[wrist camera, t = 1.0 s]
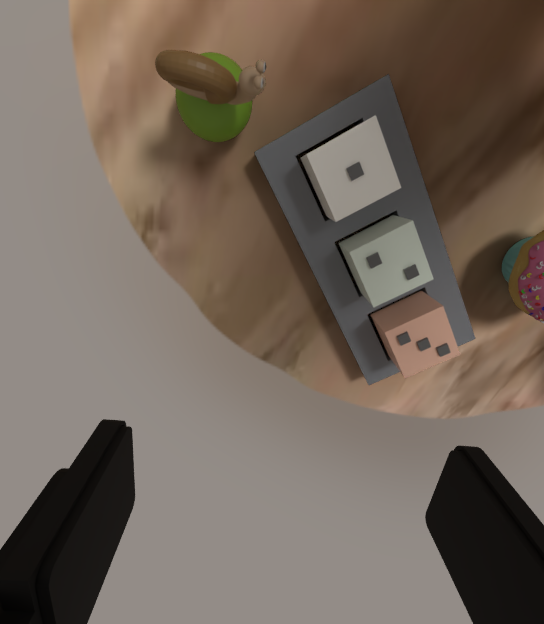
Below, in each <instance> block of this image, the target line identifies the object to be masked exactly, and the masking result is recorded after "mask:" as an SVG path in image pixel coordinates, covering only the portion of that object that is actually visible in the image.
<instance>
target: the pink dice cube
mask: <svg viewBox="0 0 544 624" xmlns="http://www.w3.org/2000/svg"><path fill="white" fill-rule="evenodd" d="M370 315H371V317H372V319H373V322H374V324H375V326H376V328H377V331H378V333H379V335H380V337H381V340H382V342H383V344H384V346H385V349H386V351H387V353H388V355H389V357H390V358H391V360H392V361H393V363H394V364H395V365H396V367H397V368H398V370H399V371H400V372H401V374H402V375H403V377H404V378H407V377H409V376H412V375H414V374H416V373H419V372H421V371H423V370H425V369H428V368H430V367H432V366H435V365H437V364H439V363H442V362H444V361H446V360H449V359H451V358H453V357H456V356H458V355H460V352H459V349H458V346H457V343H456V341H455V338H454V335H453V332H452V329H451V326H450V324H449V321H448V318H447V315H446V312H445V309H444V307H443V305H441V304H440V303H439V302H437V301H436V300H434V299H433V298H431V297H430V296H429V295H427V294H426V293H424V292H423V291H419V292H417V293H415V294H413V295H411V296H408V297H406V298H404V299H402V300H400V301H398V302H396V303H394V304H391V305H389V306H387V307H385V308H383V309H381V310H379V311H377V312H374V313H372V314H370Z"/></svg>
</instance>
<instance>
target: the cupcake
mask: <svg viewBox="0 0 544 624" xmlns="http://www.w3.org/2000/svg"><path fill="white" fill-rule="evenodd" d="M502 273H503V276H504V278H505V279H506V281H507V282H508V283H509V285H508V287H509V293H510V295H511V297H512V299H513V301H514V303H515V305H516V306H517V307H518V308H519V309H521V310H522V311H524V312H525V313H527V314H528V315H530V316H533V317H534V318H535V319H536V320H539V321H540V322H542V323H544V230H543V231H542V232H540V233H539V234H537V235H536V236H533V237H528V238H525V239H522V240H520V241H518V242H517V243H515V244H514V245H513V246H512V247H511V248H510V249H509V250H508V252H507V253H506V255H505V257H504V259H503V262H502Z"/></svg>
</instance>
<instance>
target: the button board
mask: <svg viewBox="0 0 544 624" xmlns="http://www.w3.org/2000/svg"><path fill="white" fill-rule="evenodd" d="M375 115H376V117H377V120H378V123H379V126H380V129H381V131H382V134H383V137H384V140H385V143H386V146H387V148H388V151H389V154H390V157H391V160H392V163H393V165H394V168H395V171H396V174H397V177H398V179H399V182H400V185H401V188H400V189H398V190H396V191H394V192H392V193H390V194H389V195H387V196H385V197H383V198H381V199H379V200H377V201H375V202H373V203H371V204H370V205H368V206H366V207H364V208H362V209H360V210H358V211H356V212H354V213H352V214H350V215H349V216H347V217H345V218H343V219H341V220H339V221H337V222H335V221H333V220H332V219H330V218H328V217H327V216H324V217H323V216H322V214H321V211H320V209H319V207H318V205H317V202H316V200H315V198H314V196H313V194H312V191H311V189H310V187H309V185H308V183H307V180H306V178H305V176H304V174H303V171H302V169H301V167H300V165H299V163H298V160H297V158H296V156H297V155H299V154H300V153H302V152H304V151H306V150H307V149H309V148H311V147H313V146H315V145H316V144H318V143H320V142H322V141H323V140H325V139H327V138H329V137H330V136H332V135H334V134H336V133H337V132H339V131H341V130H343V129H344V128H346V127H348V126H350V125H351V124H353V123H354V124H355V126H357V125H359V124H361V123H363V122H364V121H366V120H368V119H370V118H371V117H373V116H375ZM254 153H255V155H256V158H257V160H258V162H259V164H260V166H261V168H262V170H263V172H264V174H265V176H266V178H267V180H268V182H269V184H270V186H271V188H272V190H273V192H274V194H275V196H276V198H277V200H278V202H279V204H280V206H281V208H282V210H283V212H284V214H285V216H286V218H287V220H288V223H289V225H290V227H291V229H292V231H293V233H294V235H295V237H296V239H297V241H298V243H299V245H300V247H301V249H302V251H303V253H304V255H305V257H306V259H307V261H308V263H309V265H310V267H311V269H312V271H313V273H314V275H315V277H316V279H317V281H318V283H319V286H320V288H321V290H322V292H323V294H324V296H325V298H326V300H327V302H328V304H329V306H330V308H331V310H332V312H333V314H334V316H335V318H336V320H337V322H338V324H339V326H340V328H341V330H342V332H343V334H344V336H345V338H346V340H347V342H348V344H349V346H350V349H351V351H352V353H353V355H354V357H355V359H356V361H357V363H358V365H359V367H360V369H361V371H362V373H363V375H364V377H365V379H366V381H367V383H368V385H371V384H373V383H375V382H378V381H380V380H382V379H384V378H387V377H389V376H391V375H394V374H396V373H398V372H400V371H399V370H398V368H397V367H396V365H395V364H394V363H393V361H392V360H391V358H390V357H389V355H388V353H387V351H386V349H385V347H383V348H382V347H381V344H380V342H379V340H378V338H377V335H376V333H375V331H374V329H373V327H372V324H371V322H370V320H369V318H368V316H367V314H369V313H371V312H373V311H375V310H377V309H380V308H382V307H384V306H386V305H388V304H390V303H392V302H394V301H397V300H399V299H401V298H403V297H405V296H407V295H409V294H411V293H414V292H416V291H418V292H419V291H423V292H424V293H426V294H427V295H429V296H430V297H431V298H433V299H434V300H436V301H437V302H439V303H440V304H441V305H443V307H444V309H445V312H446V315H447V318H448V321H449V324H450V326H451V329H452V332H453V335H454V338H455V341H456V343H457V346H460V345H462V344H464V343H467V342H469V341H471V340H474V339H475V336H474V333H473V330H472V327H471V324H470V321H469V318H468V315H467V311H466V308H465V305H464V302H463V299H462V296H461V293H460V290H459V287H458V284H457V281H456V278H455V275H454V272H453V269H452V266H451V263H450V260H449V257H448V254H447V251H446V247H445V244H444V241H443V238H442V235H441V232H440V229H439V226H438V223H437V220H436V217H435V214H434V211H433V208H432V205H431V202H430V199H429V196H428V193H427V190H426V186H425V183H424V180H423V177H422V174H421V171H420V168H419V165H418V162H417V159H416V156H415V153H414V150H413V147H412V144H411V141H410V138H409V135H408V132H407V129H406V125H405V122H404V119H403V116H402V113H401V110H400V107H399V104H398V101H397V98H396V95H395V92H394V89H393V86H392V83H391V80H390V77H389V74H387V75H386V76H384V77H382V78H381V79H379V80H377V81H375V82H374V83H372V84H370V85H369V86H367V87H365V88H363V89H362V90H360V91H358V92H357V93H355V94H353V95H351V96H350V97H348V98H346V99H345V100H343V101H341V102H339V103H338V104H336V105H334V106H333V107H331V108H329V109H327V110H326V111H324V112H322V113H321V114H319V115H317V116H315V117H314V118H312V119H310V120H309V121H307V122H305V123H303V124H302V125H300V126H298V127H297V128H295V129H293V130H291V131H290V132H288V133H286V134H285V135H283V136H281V137H279V138H278V139H276V140H274V141H273V142H271V143H269V144H267V145H266V146H264V147H262V148H261V149H259V150H257V151H255V152H254ZM388 214H389V216H392V215H395V216H399V217H403V218H406V219H410V220H413V222H414V225H415V228H416V230H417V233H418V236H419V239H420V242H421V244H422V247H423V250H424V253H425V256H426V259H427V261H428V264H429V267H430V270H431V273H432V276H433V278H434V279H433V280H431V281H429V282H427V283H425V284H423V285H420V286H418V287H416V288H414V289H412V290H410V291H408V292H406V293H404V294H401V295H399V296H397V297H395V298H393V299H391V300H389V301H387V302H385V303H382V304H380V305H378V306H376V307H373V306H372V305H371V304H370V303H369V302H368V300H367V299H366V298H365V297H364V296H363V295H362V293H361V292H360V290H359V288H358V286H357V287H354V284H353V282H352V280H351V278H350V276H349V273H348V271H347V269H346V267H345V265H344V262H343V260H342V258H341V256H340V253H339V251H338V249H337V247H336V245H335V242H336V241H338V240H340V239H342V238H344V237H345V236H347V235H349V234H351V233H353V232H355V231H357V230H359V229H361V228H363V227H365V226H367V225H369V224H371V223H373V222H375V221H377V220H378V219H380V218H382V217H384V216H386V215H388Z"/></svg>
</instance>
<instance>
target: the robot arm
mask: <svg viewBox="0 0 544 624" xmlns="http://www.w3.org/2000/svg"><path fill="white" fill-rule="evenodd" d="M134 501H135V483H134V462H133V440H132V428H131V427H126V423H125V421H118V420H102V421H101V422H100V423H99V425H98V426H97V428H96V429H95V431H94V432H93V434H92V435H91V437H90V438H89V440H88V441H87V443H86V444H85V445H84V447H83V448H82V450H81V451H80V453H79V455H78V456H77V457H76V459H75V460H74V462H73V463H72V465H71V466H70V468H69V469H65V468H64V469H60V470H59V471H57V472H56V473H55V474H54V475H53V477H52V478H51V479H50V481H49V482H48V483H47V485H46V486H45V488H44V489H43V490H42V492H41V493H40V495H39V496H38V498H37V499H36V500H35V502H34V503H33V505H32V506H31V507H30V509H29V510H28V512H27V513H26V514H25V516H24V517H23V519H22V520H21V522H20V523H19V524H18V526H17V527H16V529H15V530H14V531H13V533H12V534H11V536H10V537H9V538H8V540H7V541H6V543H5V544H4V545H3V547H2V548H1V550H0V624H87V623H88V620H89V617H90V615H91V613H92V610H93V608H94V605H95V602H96V600H97V597H98V595H99V592H100V590H101V587H102V585H103V582H104V580H105V577H106V575H107V572H108V569H109V567H110V565H111V562H112V559H113V557H114V554H115V552H116V550H117V547H118V545H119V542H120V539H121V537H122V534H123V532H124V529H125V526H126V524H127V522H128V519H129V517H130V514H131V512H132V509H133V506H134ZM425 518H426V524H427V527H428V529H429V531H430V533H431V536H432V538H433V540H434V542H435V544H436V546H437V548H438V550H439V552H440V554H441V556H442V559H443V561H444V563H445V565H446V567H447V569H448V571H449V574H450V575H451V578H452V580H453V582H454V584H455V586H456V588H457V590H458V592H459V595H460V597H461V599H462V601H463V603H464V605H465V607H466V609H467V611H468V614H469V616H470V618H471V620H472V622H473V624H544V525H543V524H542V522H541V521H540V520H539V519H538V518H537V516H536V515H535V514H534V513H533V511H532V510H531V509H530V508H529V507H528V505H527V504H526V503H525V502H524V500H523V499H522V498H521V497H520V495H519V494H518V493H517V492H516V491H515V489H514V488H513V487H512V486H511V484H510V483H509V482H508V481H507V480H506V478H505V477H504V476H503V475H502V473H501V472H500V471H499V470H498V468H497V467H496V466H495V465H494V464H493V462H492V461H491V460H490V459H489V457H488V456H487V455H486V454H485V453H484V451H483V450H482V449H481V448H479V447H471V446H470V447H469V446H457V447H456V448H455V449H454V451H451V452H450V453H449V456H448V458H447V461H446V463H445V466H444V468H443V471H442V473H441V476H440V478H439V481H438V483H437V486H436V489H435V491H434V494H433V496H432V499H431V501H430V504H429V506H428V509H427V511H426V517H425Z"/></svg>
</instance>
